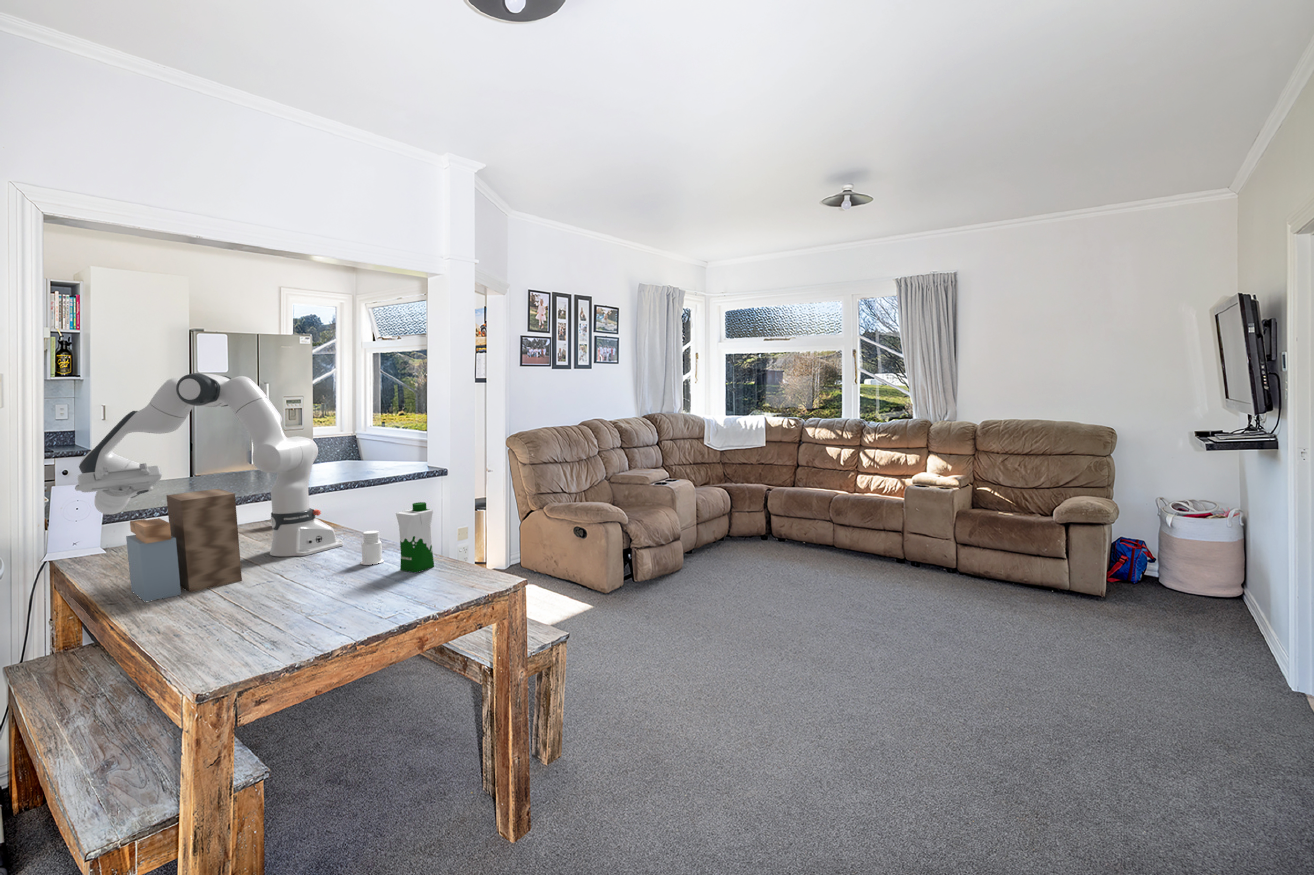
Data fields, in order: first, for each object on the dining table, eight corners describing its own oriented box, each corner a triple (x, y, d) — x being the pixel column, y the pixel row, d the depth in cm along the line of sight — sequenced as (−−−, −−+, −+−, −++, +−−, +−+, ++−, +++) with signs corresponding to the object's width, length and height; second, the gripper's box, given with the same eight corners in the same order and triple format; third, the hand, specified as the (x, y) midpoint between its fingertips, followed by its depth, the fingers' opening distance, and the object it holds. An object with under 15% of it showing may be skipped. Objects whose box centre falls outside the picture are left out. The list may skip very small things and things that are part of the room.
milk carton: (438, 566, 203) (435, 503, 201) (415, 574, 195) (412, 508, 193) (418, 562, 207) (415, 501, 205) (395, 570, 199) (391, 506, 197)
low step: (166, 584, 189) (161, 530, 187) (180, 594, 180) (175, 537, 179) (131, 591, 183) (126, 536, 181) (145, 602, 174) (139, 544, 172)
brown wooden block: (150, 528, 190) (148, 513, 190) (171, 539, 177) (169, 523, 177) (125, 532, 186) (124, 516, 186) (145, 543, 173) (144, 526, 172)
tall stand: (225, 571, 201) (218, 488, 198) (241, 580, 192) (234, 493, 189) (174, 582, 191) (166, 495, 188) (189, 592, 182) (181, 500, 179)
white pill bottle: (374, 566, 204) (373, 534, 203) (354, 565, 205) (353, 534, 205) (389, 560, 212) (388, 529, 211) (370, 559, 213) (369, 529, 212)
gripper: (71, 482, 200) (77, 462, 192) (153, 473, 216) (162, 454, 208) (76, 500, 199) (82, 481, 190) (158, 490, 214) (166, 472, 206)
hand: (124, 467), depth 199 cm, fingers open, 8 cm apart
